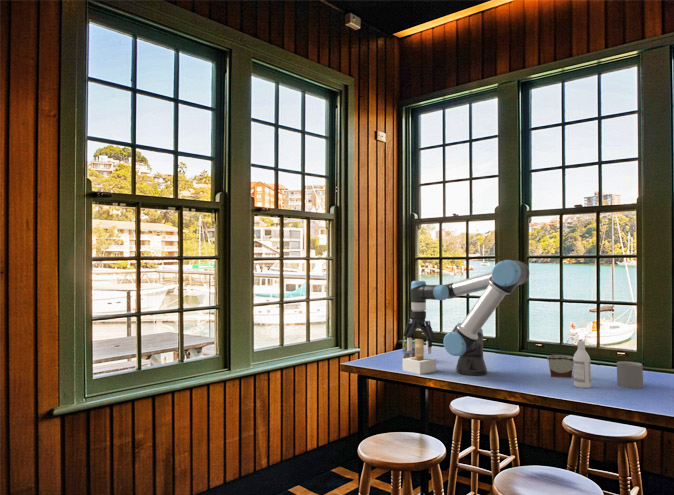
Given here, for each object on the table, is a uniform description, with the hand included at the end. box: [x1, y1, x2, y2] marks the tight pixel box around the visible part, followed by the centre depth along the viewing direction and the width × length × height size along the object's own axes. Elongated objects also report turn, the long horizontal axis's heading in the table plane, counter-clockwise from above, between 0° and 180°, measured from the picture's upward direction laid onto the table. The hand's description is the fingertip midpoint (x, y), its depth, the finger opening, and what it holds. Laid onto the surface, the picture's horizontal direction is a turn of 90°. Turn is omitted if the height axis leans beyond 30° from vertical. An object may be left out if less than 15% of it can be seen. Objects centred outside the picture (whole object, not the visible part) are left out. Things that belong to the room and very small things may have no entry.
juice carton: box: [401, 339, 415, 360], centre depth 279 cm, size 9×9×15 cm
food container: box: [547, 354, 574, 379], centre depth 236 cm, size 12×6×10 cm, turn 74°
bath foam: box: [572, 340, 592, 389], centre depth 215 cm, size 7×7×20 cm
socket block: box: [402, 356, 437, 375], centre depth 249 cm, size 12×12×6 cm
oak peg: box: [414, 338, 425, 361], centre depth 249 cm, size 4×4×16 cm
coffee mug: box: [616, 360, 644, 390], centre depth 217 cm, size 13×10×10 cm
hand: (419, 352), depth 250 cm, fingers open, 13 cm apart
